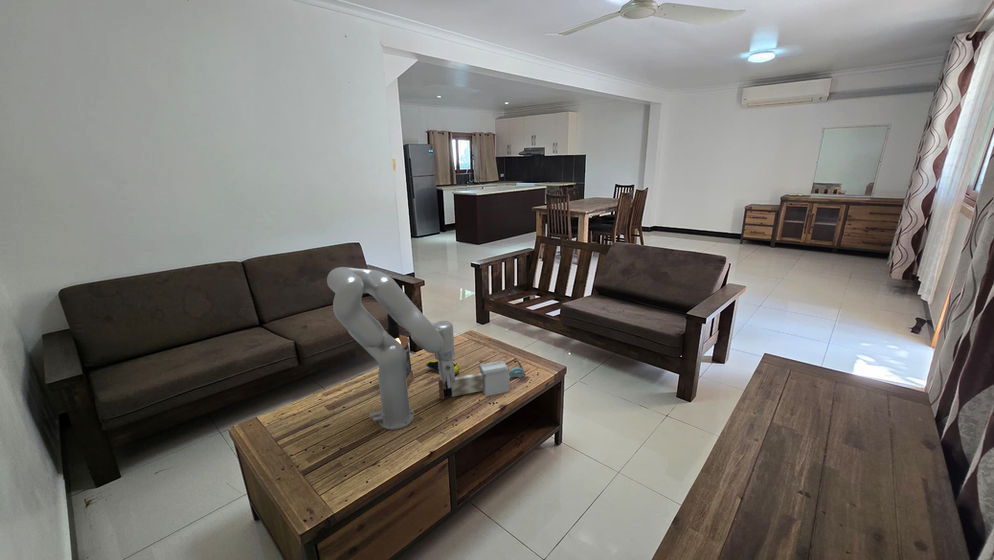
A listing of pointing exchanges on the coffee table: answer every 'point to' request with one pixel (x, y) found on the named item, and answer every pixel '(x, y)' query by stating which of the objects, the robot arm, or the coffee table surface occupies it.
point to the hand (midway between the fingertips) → (447, 394)
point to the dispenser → (495, 378)
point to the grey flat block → (464, 385)
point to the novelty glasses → (516, 370)
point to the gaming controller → (434, 366)
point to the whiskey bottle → (394, 332)
